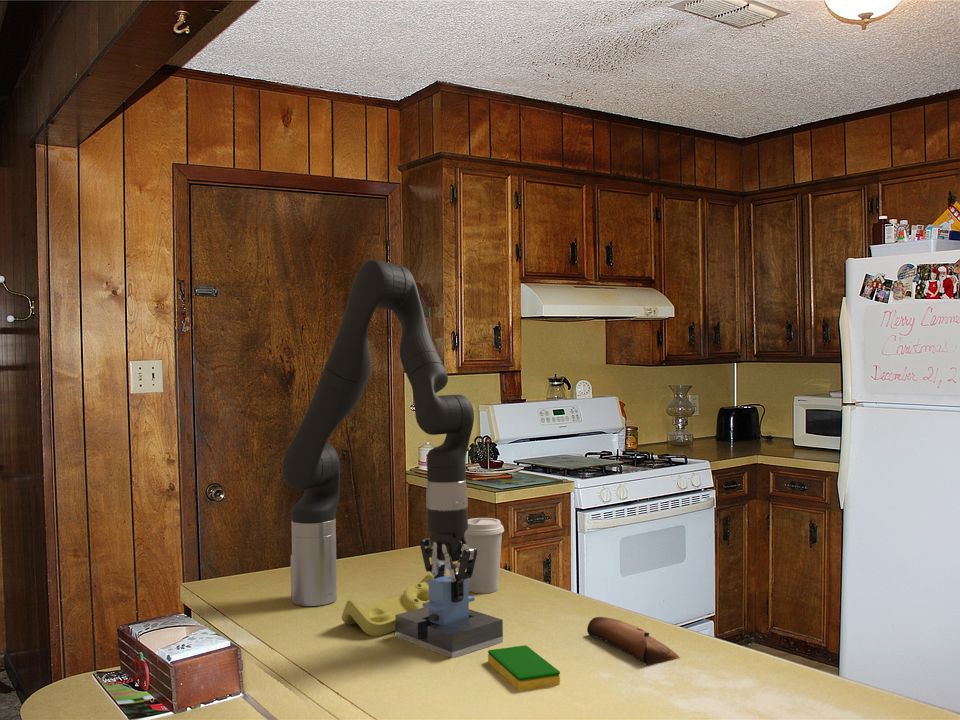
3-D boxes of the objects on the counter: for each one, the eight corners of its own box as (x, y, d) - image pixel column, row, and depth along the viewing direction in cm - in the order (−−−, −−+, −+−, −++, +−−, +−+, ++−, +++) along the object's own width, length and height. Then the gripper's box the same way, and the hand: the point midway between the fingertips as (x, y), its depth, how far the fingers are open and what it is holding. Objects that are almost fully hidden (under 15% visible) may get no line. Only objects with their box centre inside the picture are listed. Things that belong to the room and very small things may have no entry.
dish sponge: (526, 658, 151) (526, 644, 151) (561, 687, 138) (560, 671, 138) (487, 663, 148) (487, 649, 148) (519, 693, 135) (519, 677, 135)
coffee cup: (478, 581, 200) (477, 515, 199) (513, 587, 194) (512, 519, 194) (452, 591, 192) (451, 522, 192) (488, 597, 186) (487, 527, 186)
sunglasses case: (685, 657, 148) (668, 626, 147) (656, 685, 146) (638, 654, 144) (624, 628, 165) (608, 600, 163) (597, 652, 162) (581, 623, 161)
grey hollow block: (395, 636, 162) (395, 615, 162) (445, 622, 170) (445, 601, 170) (452, 658, 150) (451, 634, 150) (502, 641, 158) (502, 619, 158)
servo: (423, 623, 158) (422, 577, 158) (460, 612, 164) (459, 568, 164) (437, 628, 155) (436, 581, 155) (474, 616, 161) (474, 571, 161)
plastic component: (373, 627, 160) (345, 594, 167) (366, 658, 163) (338, 624, 170) (457, 598, 173) (427, 568, 180) (449, 627, 176) (420, 597, 182)
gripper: (488, 506, 157) (490, 602, 157) (437, 498, 167) (439, 587, 168) (457, 512, 152) (459, 611, 152) (406, 503, 162) (408, 595, 163)
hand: (448, 598), depth 160 cm, fingers closed on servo, 4 cm apart
